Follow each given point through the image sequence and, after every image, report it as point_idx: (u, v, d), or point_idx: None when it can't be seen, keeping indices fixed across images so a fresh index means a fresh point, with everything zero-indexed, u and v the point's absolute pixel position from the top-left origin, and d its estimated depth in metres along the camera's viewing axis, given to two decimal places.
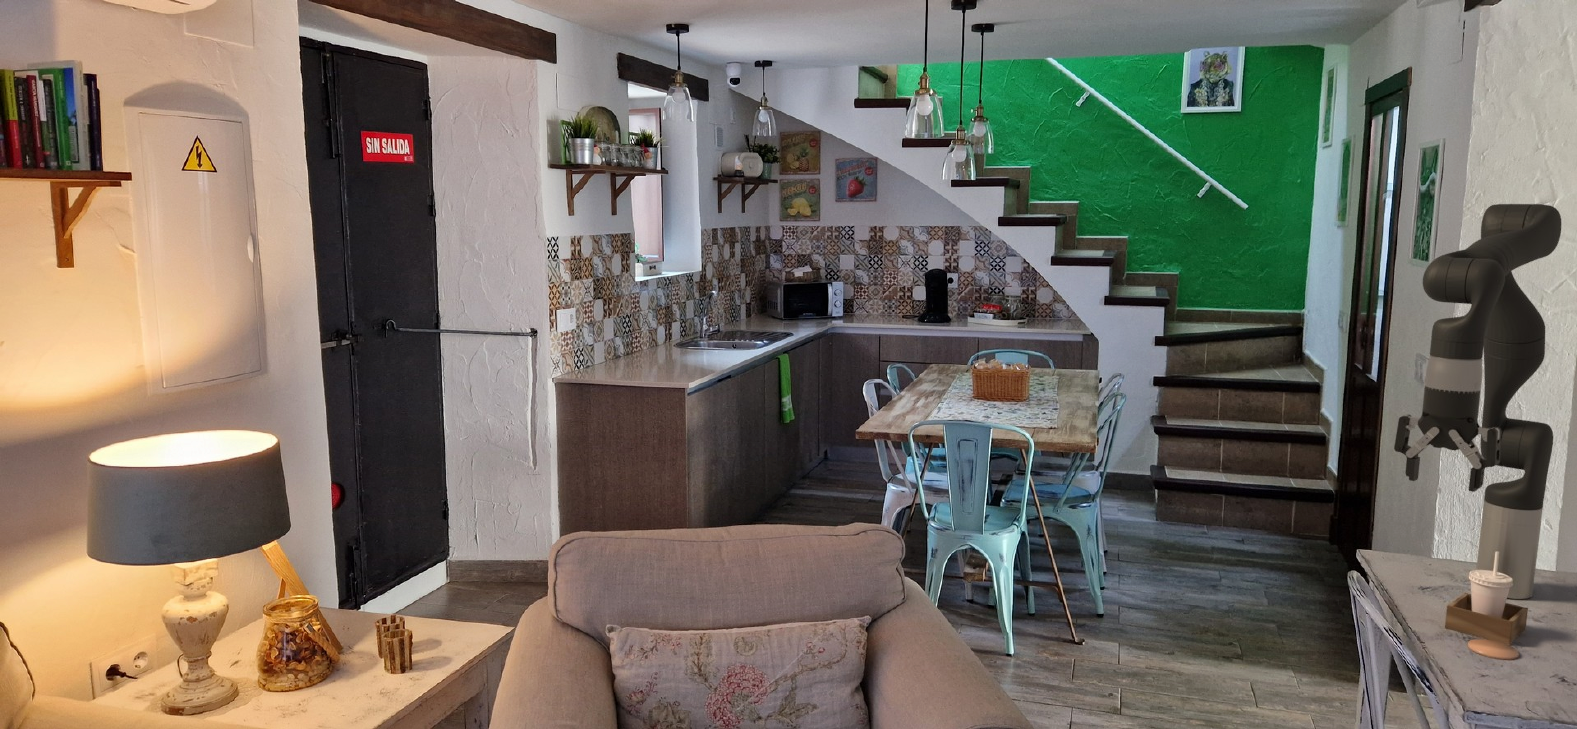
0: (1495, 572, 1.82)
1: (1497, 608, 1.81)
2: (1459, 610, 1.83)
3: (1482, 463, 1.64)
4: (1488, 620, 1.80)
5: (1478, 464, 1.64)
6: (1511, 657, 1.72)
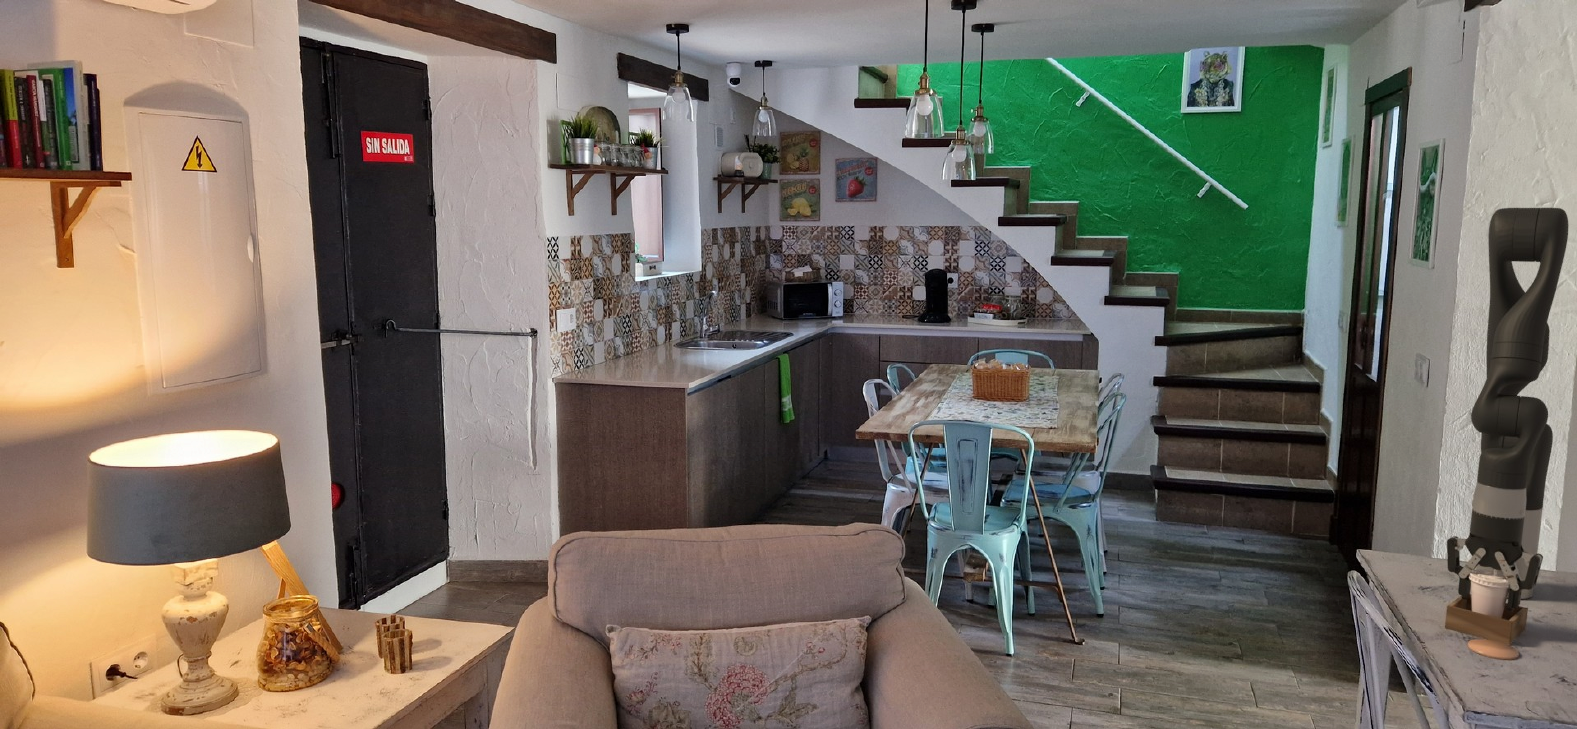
0: (1495, 572, 1.82)
1: (1497, 608, 1.81)
2: (1459, 610, 1.83)
3: (1519, 585, 1.79)
4: (1488, 620, 1.80)
5: (1516, 586, 1.79)
6: (1511, 657, 1.72)
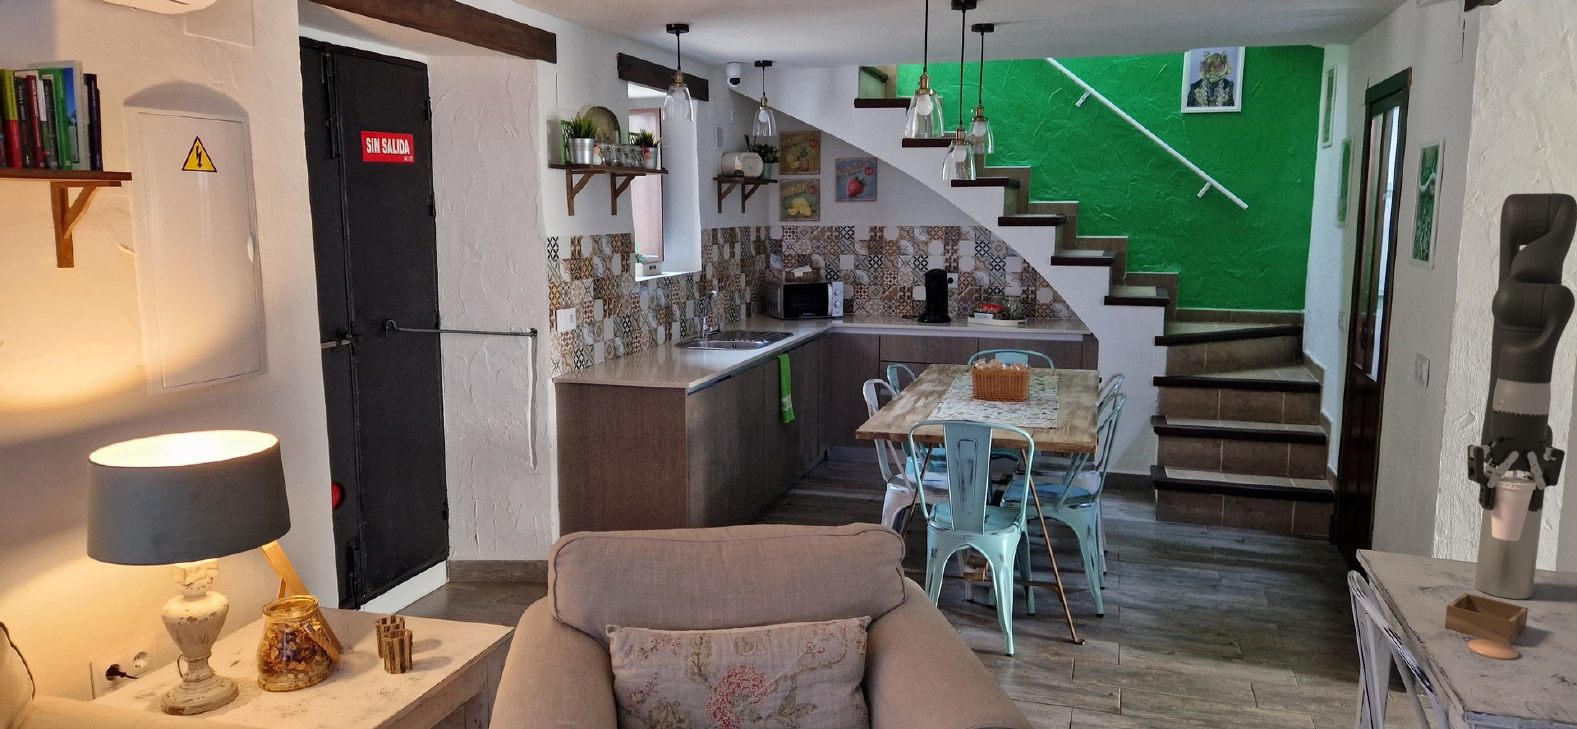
0: (1516, 475, 1.71)
1: (1526, 512, 1.70)
2: (1459, 610, 1.83)
3: None
4: (1488, 620, 1.80)
5: (1543, 485, 1.70)
6: (1511, 657, 1.72)
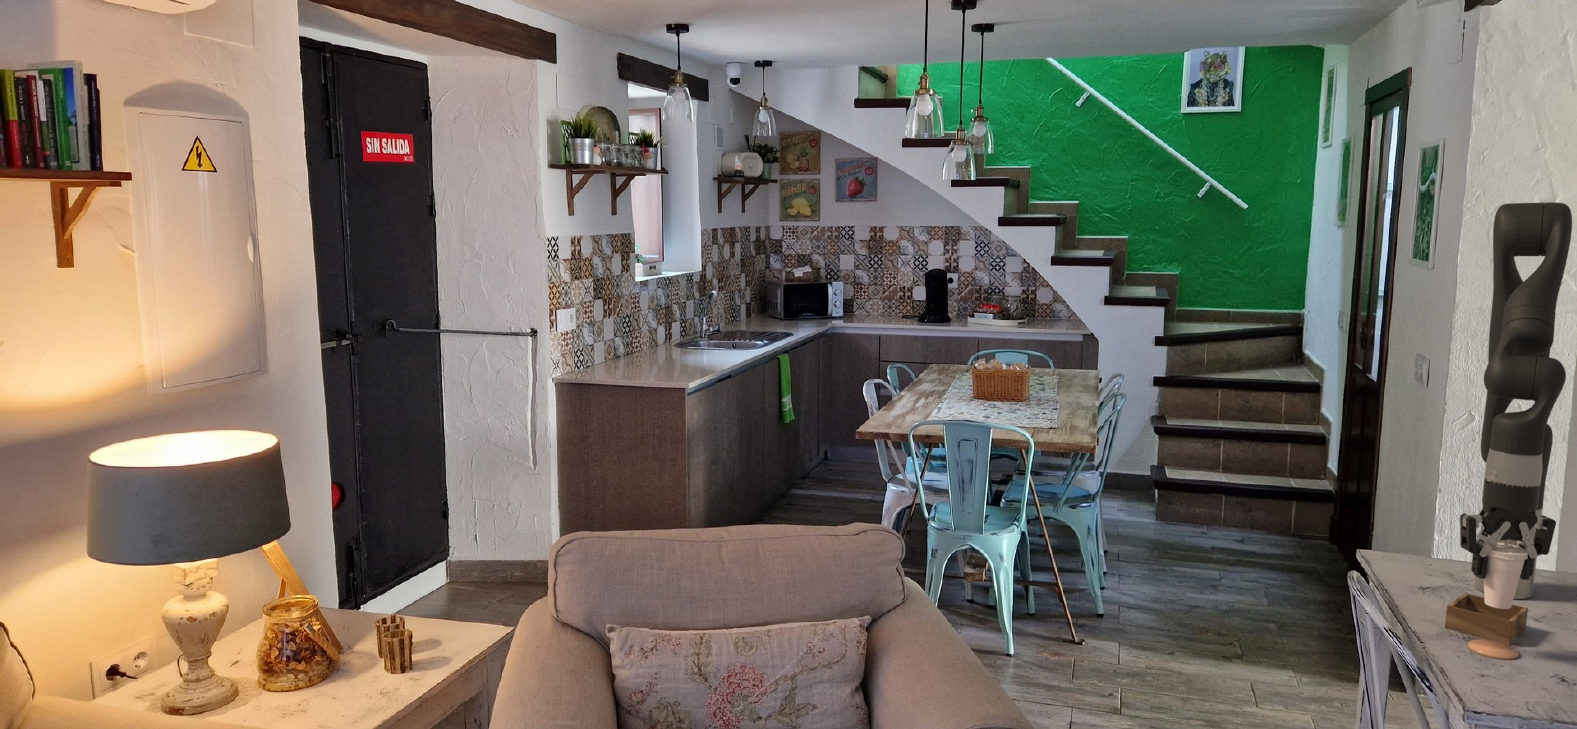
0: (1508, 543, 1.73)
1: (1518, 581, 1.72)
2: (1459, 610, 1.83)
3: None
4: (1488, 620, 1.80)
5: (1534, 554, 1.71)
6: (1511, 657, 1.72)
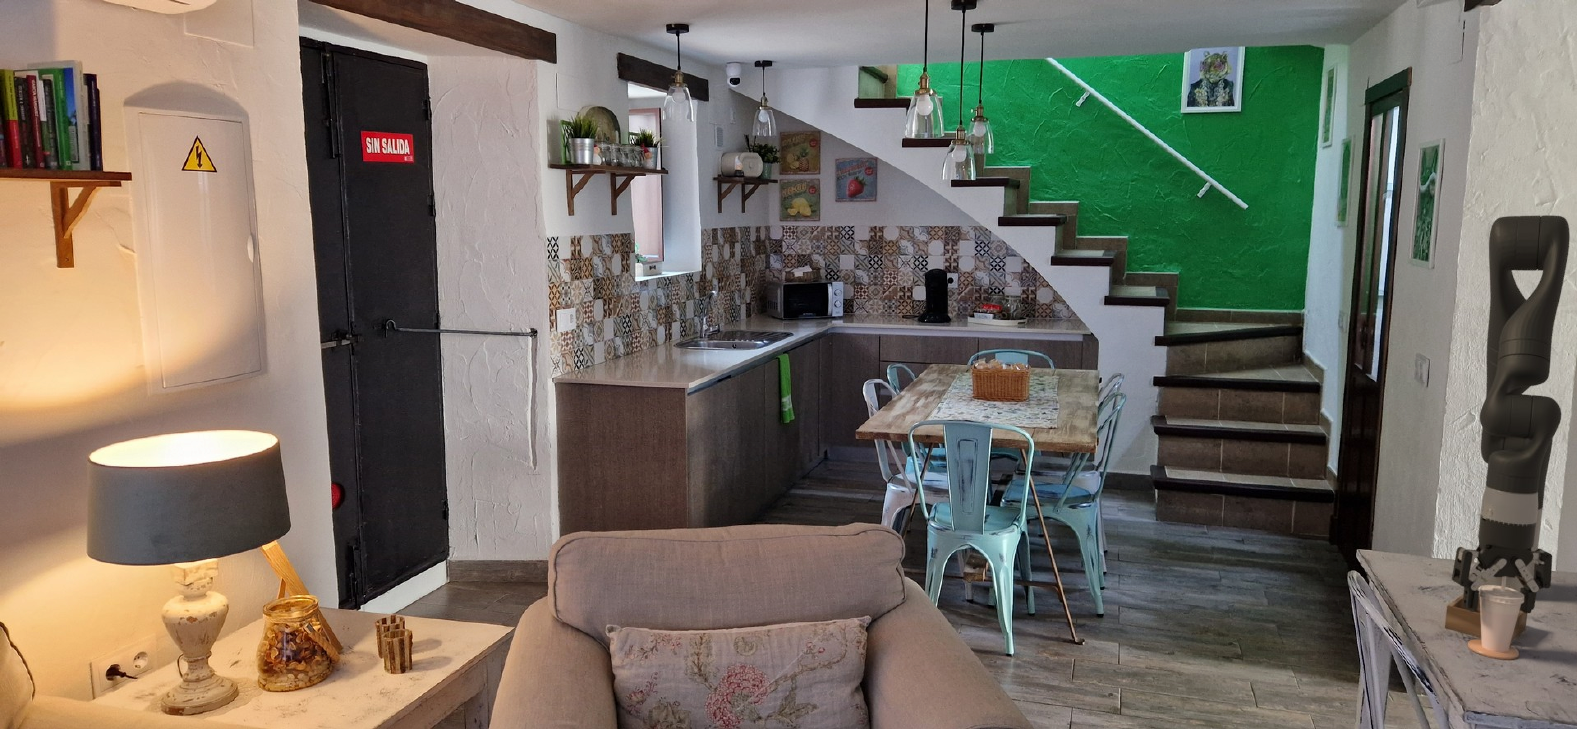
0: (1505, 587, 1.74)
1: (1515, 624, 1.73)
2: (1459, 610, 1.83)
3: None
4: None
5: (1536, 587, 1.72)
6: (1511, 657, 1.72)
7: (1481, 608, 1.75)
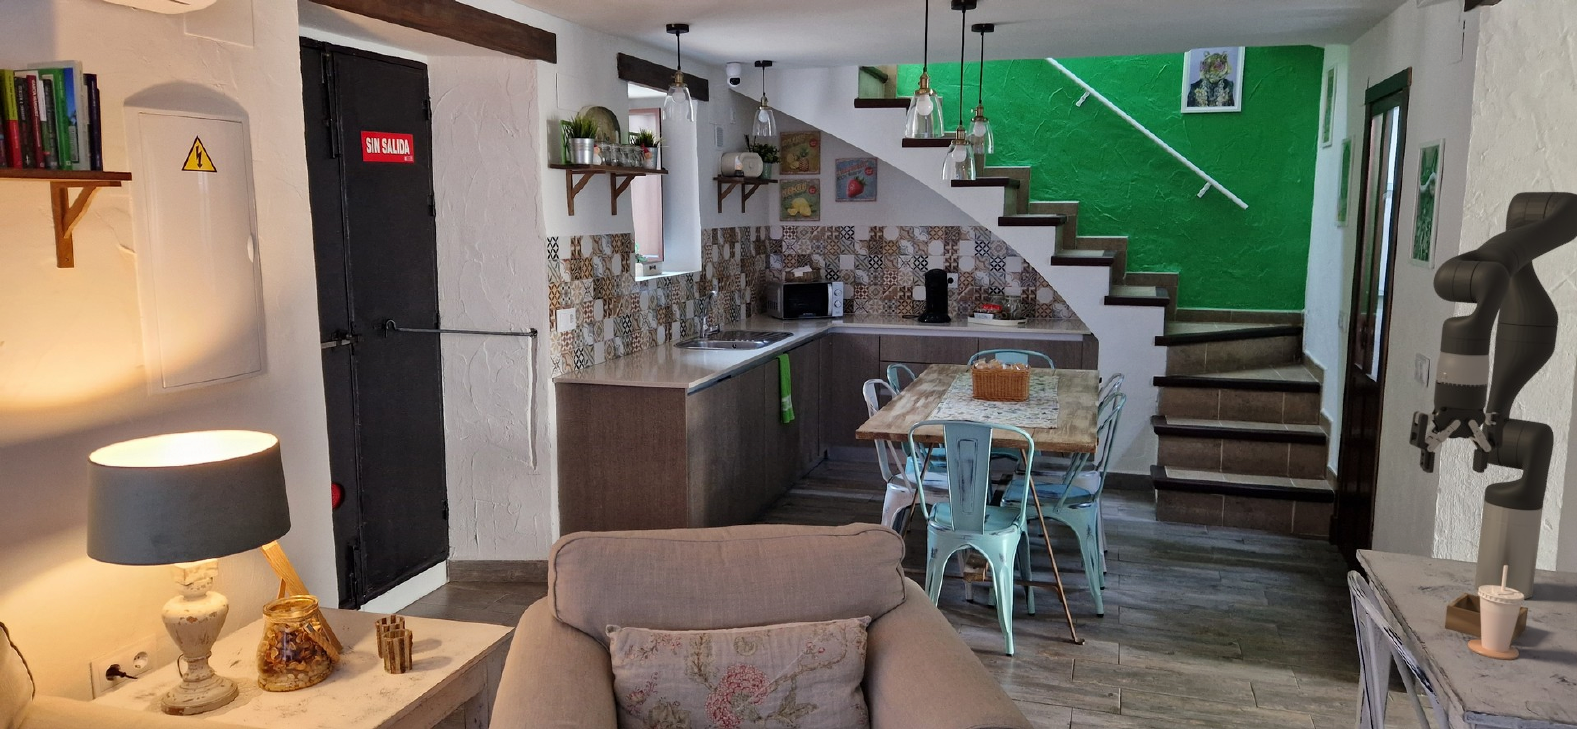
0: (1505, 587, 1.74)
1: (1515, 624, 1.73)
2: (1459, 610, 1.83)
3: (1489, 446, 1.81)
4: None
5: (1489, 447, 1.80)
6: (1511, 657, 1.72)
7: (1481, 608, 1.75)
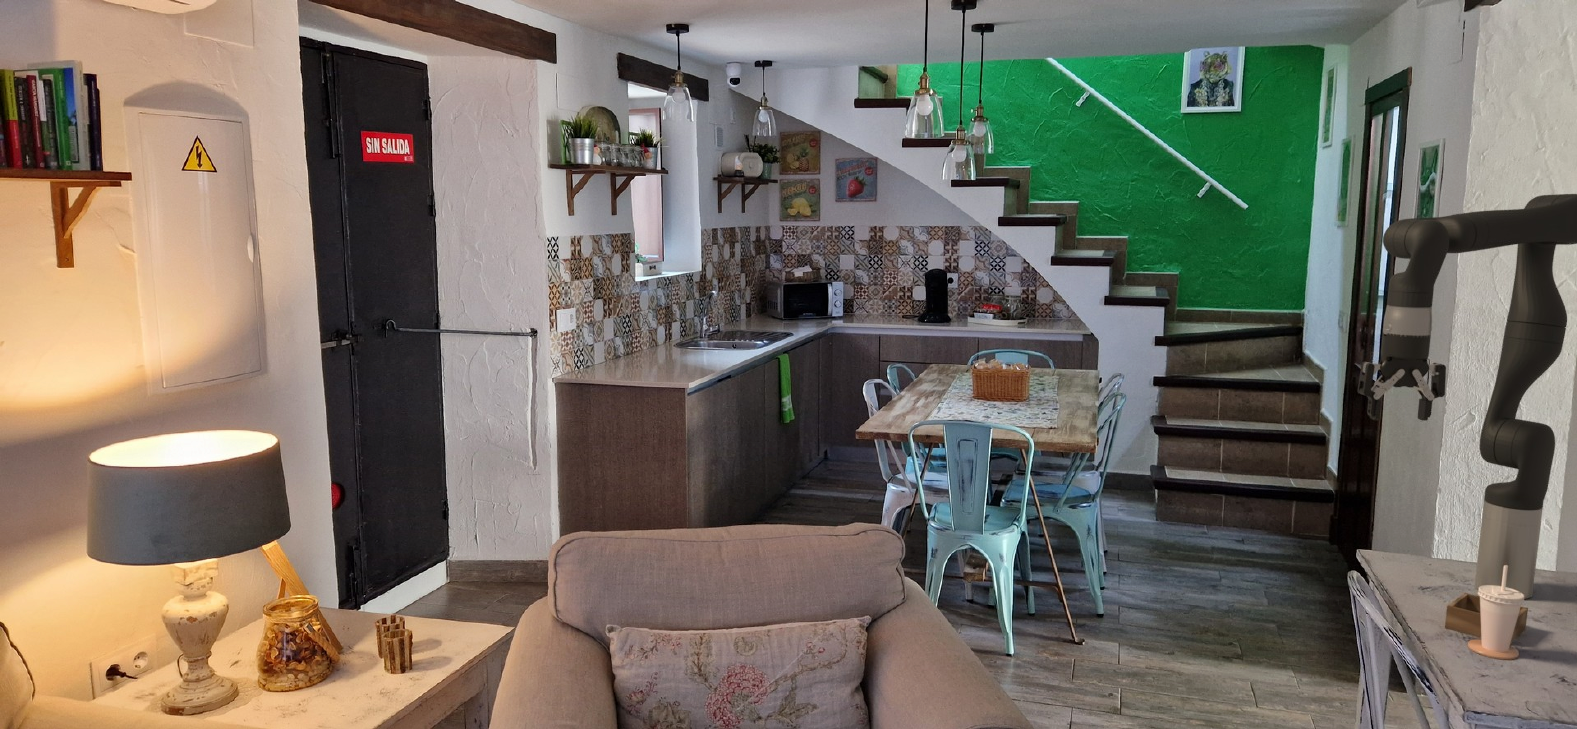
0: (1505, 587, 1.74)
1: (1515, 624, 1.73)
2: (1459, 610, 1.83)
3: (1433, 395, 1.92)
4: None
5: (1432, 396, 1.91)
6: (1511, 657, 1.72)
7: (1481, 608, 1.75)
